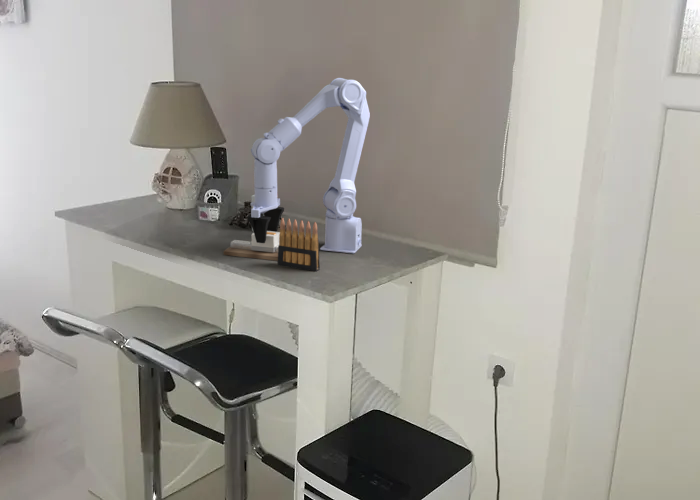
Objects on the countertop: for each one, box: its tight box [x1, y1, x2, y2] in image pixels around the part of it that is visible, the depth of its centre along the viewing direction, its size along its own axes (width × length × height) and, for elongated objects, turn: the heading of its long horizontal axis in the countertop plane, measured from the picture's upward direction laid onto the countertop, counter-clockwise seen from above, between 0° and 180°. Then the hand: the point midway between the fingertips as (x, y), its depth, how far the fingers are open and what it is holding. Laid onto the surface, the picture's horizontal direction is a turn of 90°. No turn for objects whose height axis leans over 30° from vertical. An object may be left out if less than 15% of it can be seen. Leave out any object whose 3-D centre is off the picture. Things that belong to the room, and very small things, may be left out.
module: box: [250, 231, 280, 253], centre depth 178 cm, size 6×4×4 cm
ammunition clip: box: [277, 217, 321, 272], centre depth 168 cm, size 11×2×12 cm, turn 66°
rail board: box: [222, 246, 278, 262], centre depth 179 cm, size 19×9×1 cm, turn 75°
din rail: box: [230, 239, 279, 253], centre depth 179 cm, size 18×2×2 cm, turn 75°
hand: (266, 238), depth 178 cm, fingers open, 7 cm apart
